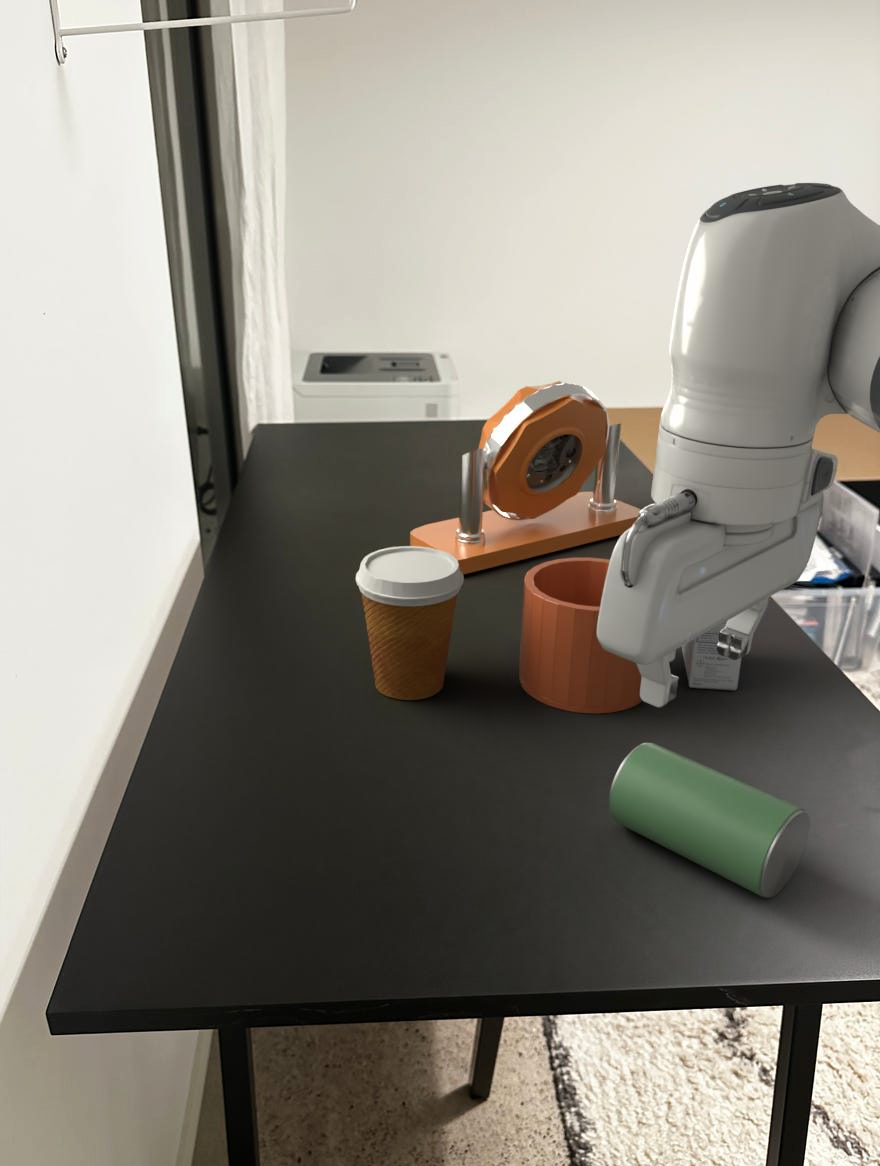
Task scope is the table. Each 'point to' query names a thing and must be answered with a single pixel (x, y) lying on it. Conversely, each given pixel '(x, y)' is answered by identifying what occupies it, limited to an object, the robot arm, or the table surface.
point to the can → (709, 818)
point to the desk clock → (535, 482)
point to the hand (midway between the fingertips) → (696, 676)
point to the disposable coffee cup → (409, 617)
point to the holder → (571, 641)
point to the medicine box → (710, 663)
